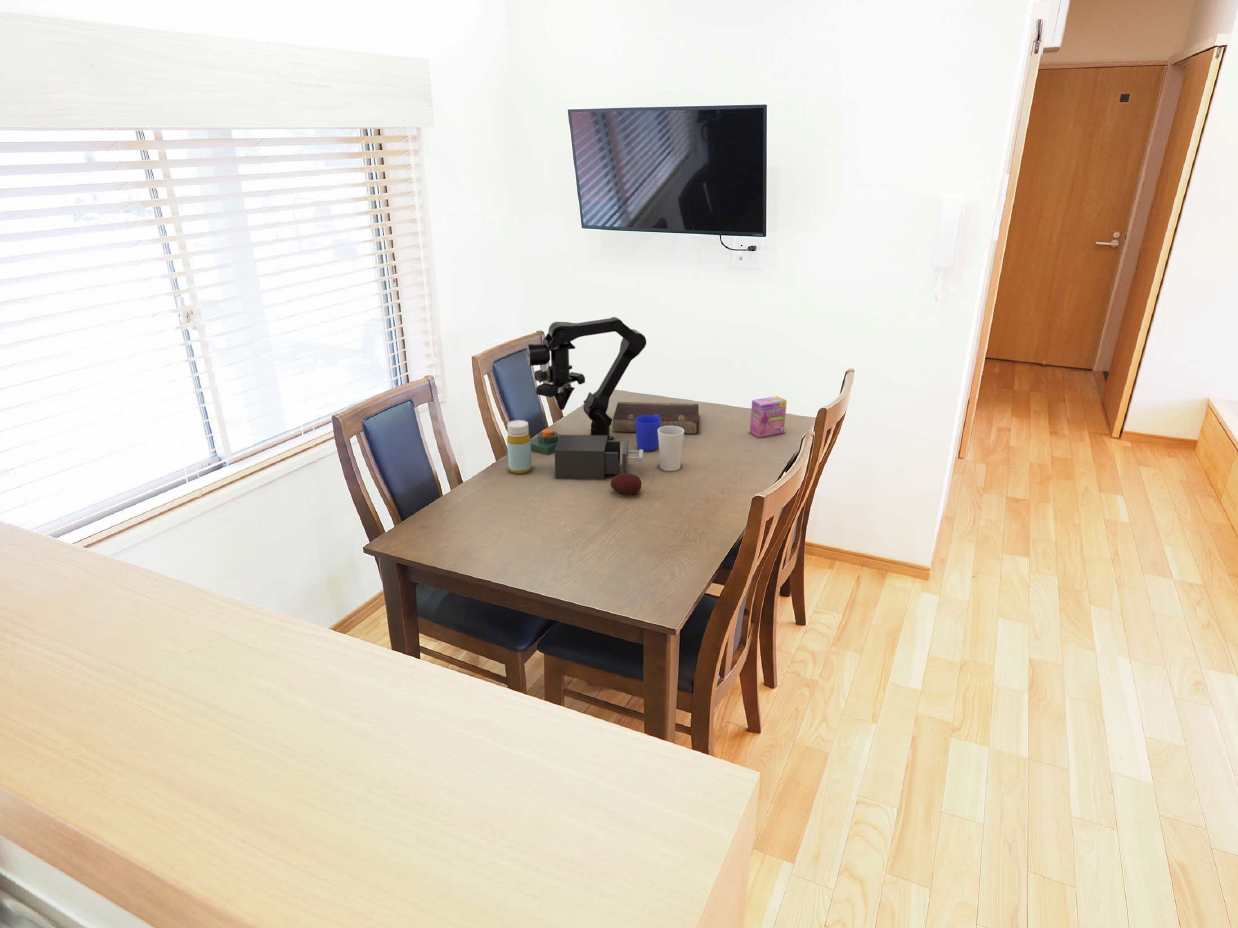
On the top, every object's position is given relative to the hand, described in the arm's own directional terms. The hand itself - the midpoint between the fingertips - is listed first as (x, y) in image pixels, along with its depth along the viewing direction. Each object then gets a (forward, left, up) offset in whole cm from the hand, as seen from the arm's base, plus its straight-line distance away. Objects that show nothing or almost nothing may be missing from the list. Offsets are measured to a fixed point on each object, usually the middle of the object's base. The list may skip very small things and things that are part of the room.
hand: (561, 409), depth 254 cm
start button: (+4, -3, -8) cm, 10 cm away
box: (-46, +52, -12) cm, 71 cm away
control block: (+4, -3, -12) cm, 13 cm away
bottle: (+24, +2, -12) cm, 27 cm away
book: (-33, +16, -12) cm, 39 cm away
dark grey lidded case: (+14, +18, -12) cm, 26 cm away
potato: (+20, +38, -12) cm, 45 cm away
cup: (-3, +39, -12) cm, 41 cm away
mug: (-14, +25, -12) cm, 31 cm away
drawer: (+9, +26, -11) cm, 30 cm away
